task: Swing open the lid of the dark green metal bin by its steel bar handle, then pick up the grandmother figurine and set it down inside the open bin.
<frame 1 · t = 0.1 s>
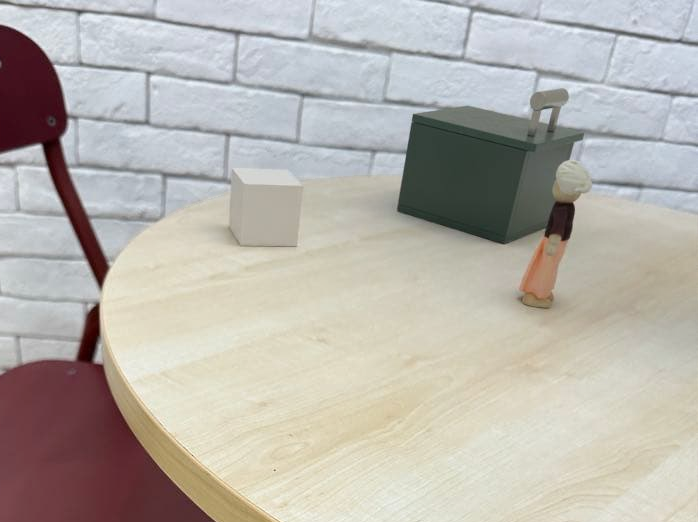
grandmother figurine: (535, 303, 81), on the table
bin lid: (503, 106, 95), point 12 cm above the table, hinge at 0.0°
bin: (474, 218, 103), on the table
light grey cube: (262, 238, 89), on the table
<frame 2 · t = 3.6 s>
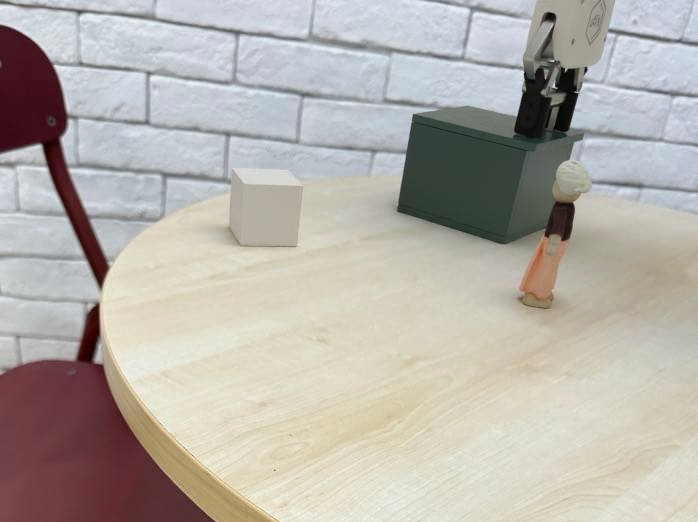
hand: (541, 130, 94), 11 cm above the table, tool pointing down, fingers closed on bin lid, 6 cm apart
bin lid: (503, 106, 95), point 12 cm above the table, hinge at 0.0°, touching gripper
everything else where it was.
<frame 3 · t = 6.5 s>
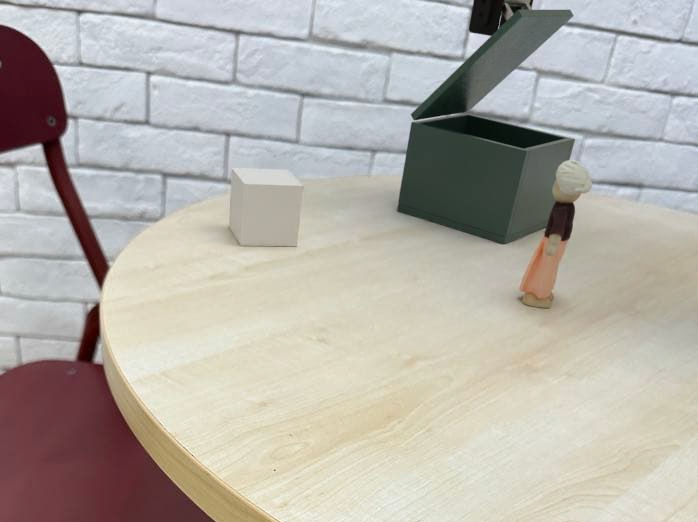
hand: (497, 31, 92), 19 cm above the table, tool pointing down, fingers closed on bin lid, 6 cm apart
bin lid: (481, 48, 94), point 17 cm above the table, hinge at 48.0°, touching gripper
everything else where it was.
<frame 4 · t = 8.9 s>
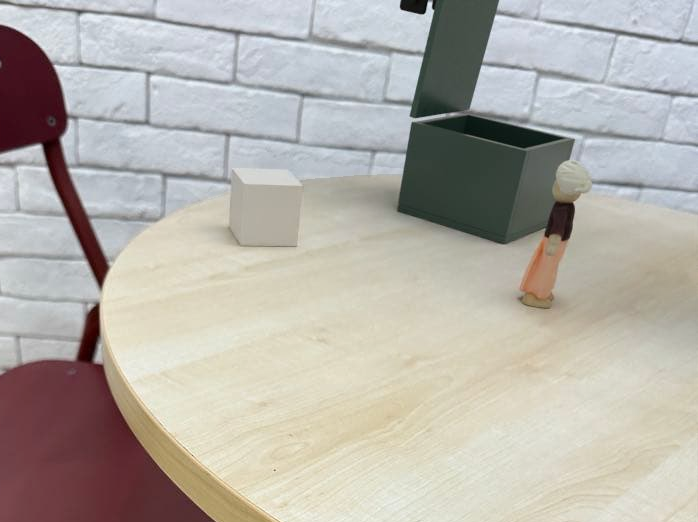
hand: (428, 10, 96), 20 cm above the table, tool pointing down, fingers closed on bin lid, 6 cm apart
bin lid: (443, 33, 96), point 18 cm above the table, hinge at 85.1°, touching gripper
everything else where it was.
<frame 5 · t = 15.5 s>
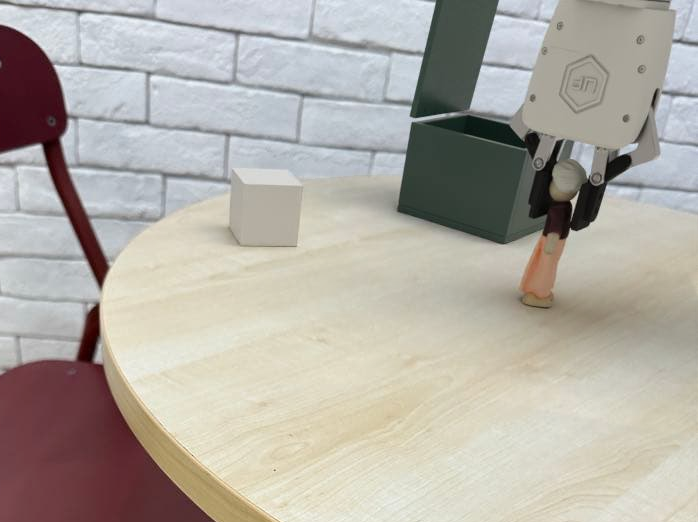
hand: (559, 220, 77), 8 cm above the table, tool pointing down, fingers closed on grandmother figurine, 3 cm apart
grandmother figurine: (536, 302, 81), on the table, touching gripper
bin lid: (443, 33, 96), point 18 cm above the table, hinge at 85.2°
everything else where it was.
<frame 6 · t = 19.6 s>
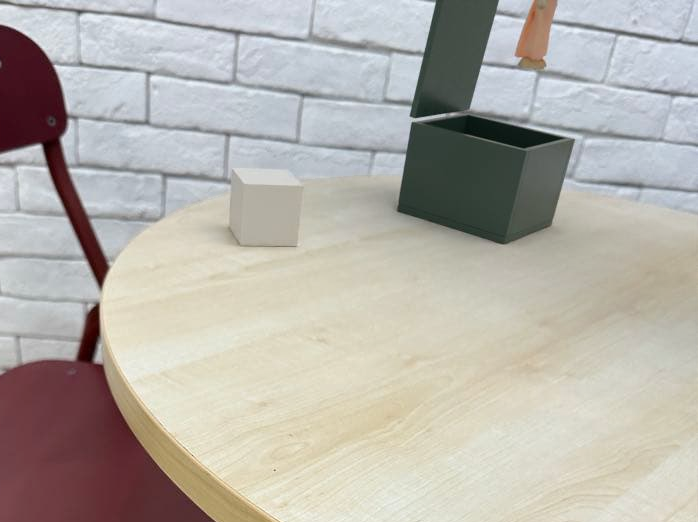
grandmother figurine: (530, 69, 90), point 17 cm above the table, touching gripper
everything else where it was.
when the fingers open (8 cm above the table, at t = 23.7 s): grandmother figurine stays where it is, resting on bin.
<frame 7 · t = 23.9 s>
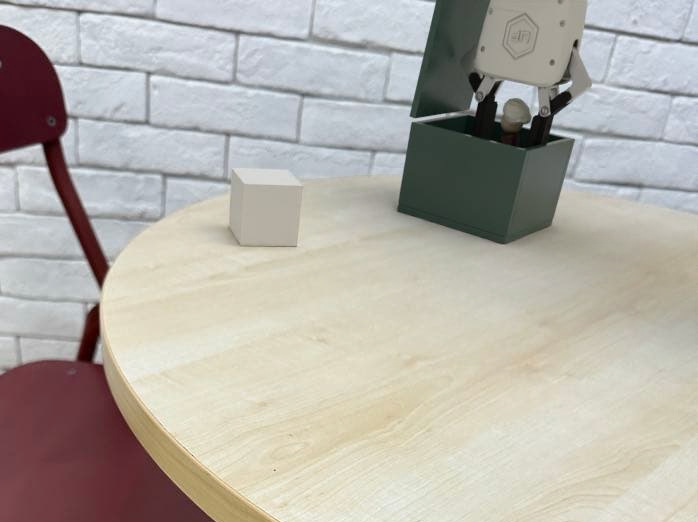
hand: (507, 145, 97), 9 cm above the table, tool pointing down, fingers open, 6 cm apart
grandmother figurine: (490, 217, 102), point 1 cm above the table, touching bin
everything else where it was.
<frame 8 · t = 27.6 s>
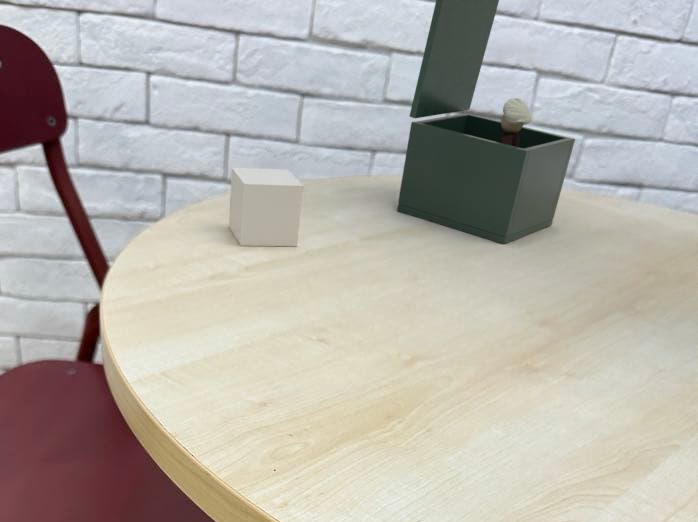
nothing on the table moved.
at the end: bin lid at +85° (first picture: +0°); grandmother figurine inside the target area in the bin (2.1 cm from its centre), point 0.6 cm above the bin's base; grandmother figurine tilted 0° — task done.
